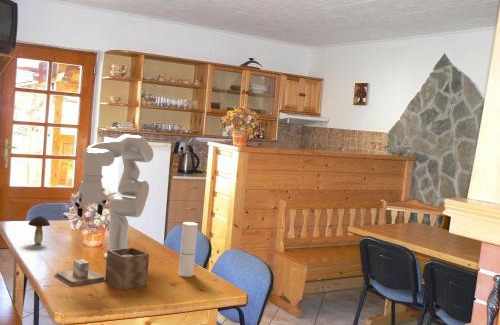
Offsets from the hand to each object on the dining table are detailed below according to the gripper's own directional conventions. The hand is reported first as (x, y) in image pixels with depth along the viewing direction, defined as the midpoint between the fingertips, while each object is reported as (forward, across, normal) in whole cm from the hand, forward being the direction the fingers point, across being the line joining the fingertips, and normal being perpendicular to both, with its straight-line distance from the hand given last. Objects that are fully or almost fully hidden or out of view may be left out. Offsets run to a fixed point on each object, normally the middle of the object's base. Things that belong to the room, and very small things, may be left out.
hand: (89, 215), depth 233 cm
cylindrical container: (+28, -39, +24) cm, 54 cm away
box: (+27, -7, +22) cm, 35 cm away
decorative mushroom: (+29, -2, -56) cm, 63 cm away
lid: (+26, +7, +7) cm, 28 cm away
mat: (+26, +7, +7) cm, 28 cm away
